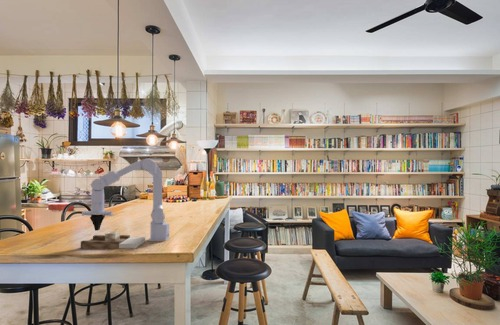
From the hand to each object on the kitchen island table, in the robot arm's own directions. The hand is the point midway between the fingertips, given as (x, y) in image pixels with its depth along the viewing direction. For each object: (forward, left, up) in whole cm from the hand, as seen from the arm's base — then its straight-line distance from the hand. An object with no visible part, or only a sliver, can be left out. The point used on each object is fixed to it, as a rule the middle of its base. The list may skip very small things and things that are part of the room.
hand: (97, 230), depth 141 cm
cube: (-8, 0, -5) cm, 9 cm away
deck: (-9, 0, -7) cm, 11 cm away
